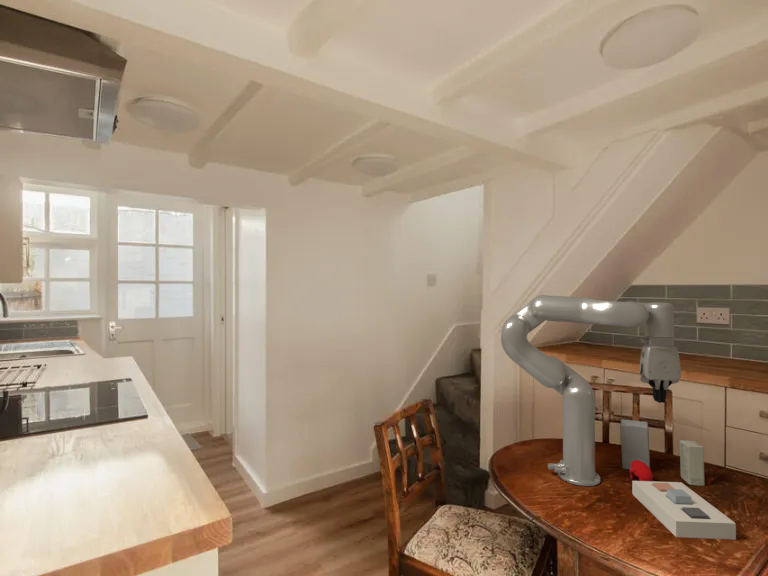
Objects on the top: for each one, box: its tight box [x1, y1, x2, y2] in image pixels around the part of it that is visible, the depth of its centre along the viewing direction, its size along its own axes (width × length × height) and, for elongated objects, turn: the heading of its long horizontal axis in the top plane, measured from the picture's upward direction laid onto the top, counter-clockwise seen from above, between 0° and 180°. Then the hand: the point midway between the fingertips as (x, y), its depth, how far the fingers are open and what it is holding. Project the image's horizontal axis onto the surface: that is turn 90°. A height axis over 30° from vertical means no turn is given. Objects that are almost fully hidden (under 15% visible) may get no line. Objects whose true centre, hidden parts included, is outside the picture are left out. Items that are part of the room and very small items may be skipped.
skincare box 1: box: [620, 418, 651, 471], centre depth 146 cm, size 8×7×16 cm
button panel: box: [631, 480, 737, 541], centre depth 116 cm, size 14×22×4 cm, turn 175°
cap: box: [629, 460, 655, 481], centre depth 136 cm, size 8×6×6 cm
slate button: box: [667, 489, 691, 505], centre depth 116 cm, size 4×4×3 cm
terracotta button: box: [653, 483, 674, 492], centre depth 123 cm, size 4×4×3 cm
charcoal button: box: [682, 507, 709, 519], centre depth 109 cm, size 4×4×3 cm
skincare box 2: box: [679, 439, 705, 487], centre depth 136 cm, size 6×4×12 cm
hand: (659, 401), depth 131 cm, fingers closed
